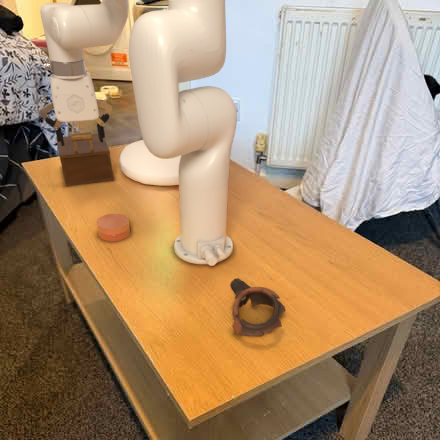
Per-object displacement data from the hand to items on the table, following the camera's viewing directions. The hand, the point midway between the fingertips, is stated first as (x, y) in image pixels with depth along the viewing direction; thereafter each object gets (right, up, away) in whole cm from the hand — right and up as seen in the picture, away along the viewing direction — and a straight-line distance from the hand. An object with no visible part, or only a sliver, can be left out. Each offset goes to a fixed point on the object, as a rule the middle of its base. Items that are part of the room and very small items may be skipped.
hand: (82, 142), depth 106 cm
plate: (+20, -3, +14) cm, 25 cm away
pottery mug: (+41, -44, -35) cm, 69 cm away
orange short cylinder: (+12, -26, -14) cm, 32 cm away
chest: (-2, -5, +11) cm, 12 cm away
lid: (-2, +1, +5) cm, 6 cm away
